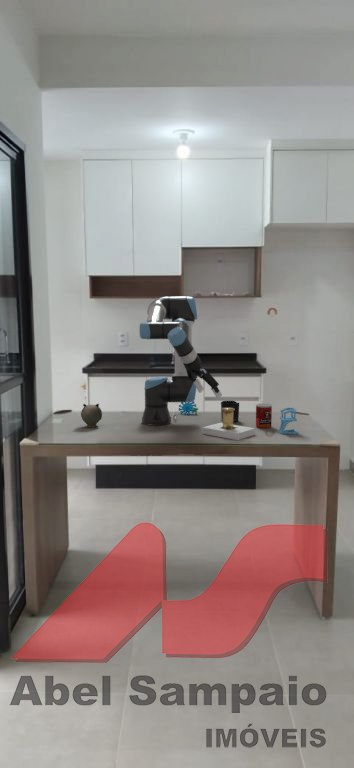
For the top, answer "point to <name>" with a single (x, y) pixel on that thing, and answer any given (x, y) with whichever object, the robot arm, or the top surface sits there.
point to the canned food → (263, 415)
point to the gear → (188, 408)
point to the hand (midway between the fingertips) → (210, 393)
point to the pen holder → (231, 405)
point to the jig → (229, 431)
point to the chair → (287, 421)
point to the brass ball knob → (228, 418)
